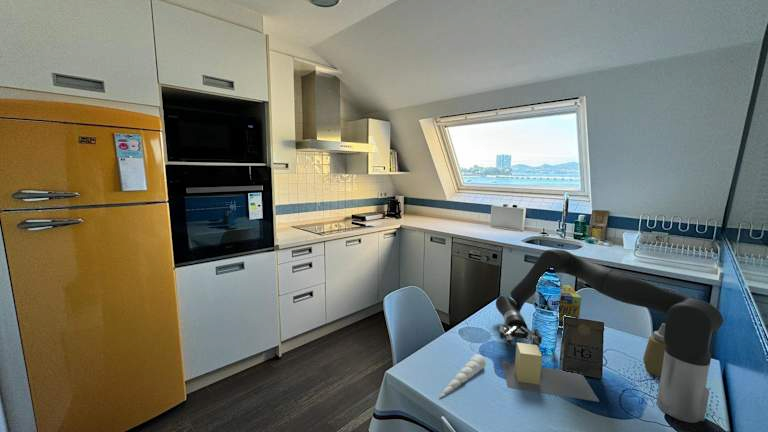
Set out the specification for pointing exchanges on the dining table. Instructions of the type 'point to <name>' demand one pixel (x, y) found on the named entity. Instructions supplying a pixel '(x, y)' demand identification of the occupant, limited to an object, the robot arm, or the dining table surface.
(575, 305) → the protein box
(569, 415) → the dining table surface
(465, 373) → the unicorn horn
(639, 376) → the dining table surface
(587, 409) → the dining table surface
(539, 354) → the tall cream block
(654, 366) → the squeeze bottle
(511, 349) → the dining table surface
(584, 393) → the mat
